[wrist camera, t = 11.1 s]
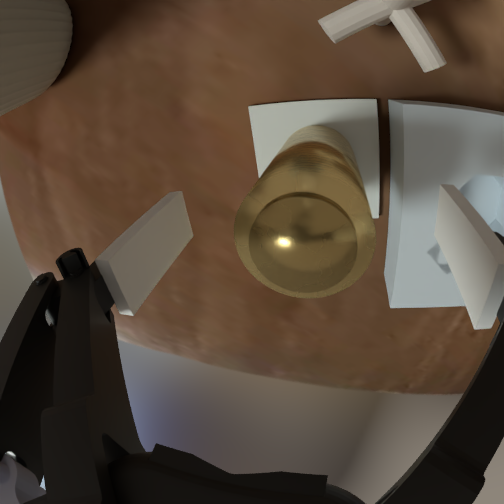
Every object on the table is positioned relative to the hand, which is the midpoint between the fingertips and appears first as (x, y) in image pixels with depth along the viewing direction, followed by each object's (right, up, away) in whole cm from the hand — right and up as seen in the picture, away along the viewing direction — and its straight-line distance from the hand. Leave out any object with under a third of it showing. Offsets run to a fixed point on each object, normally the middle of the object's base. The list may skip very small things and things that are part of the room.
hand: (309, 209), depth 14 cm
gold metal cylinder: (+3, +5, +9) cm, 11 cm away
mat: (+3, +5, +9) cm, 11 cm away
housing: (+16, +3, +7) cm, 17 cm away
